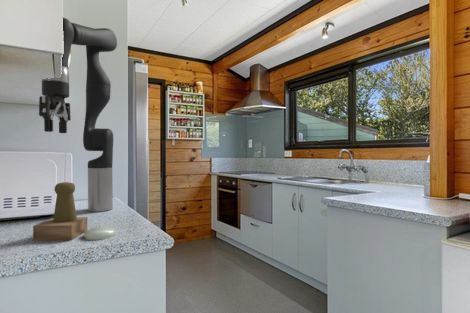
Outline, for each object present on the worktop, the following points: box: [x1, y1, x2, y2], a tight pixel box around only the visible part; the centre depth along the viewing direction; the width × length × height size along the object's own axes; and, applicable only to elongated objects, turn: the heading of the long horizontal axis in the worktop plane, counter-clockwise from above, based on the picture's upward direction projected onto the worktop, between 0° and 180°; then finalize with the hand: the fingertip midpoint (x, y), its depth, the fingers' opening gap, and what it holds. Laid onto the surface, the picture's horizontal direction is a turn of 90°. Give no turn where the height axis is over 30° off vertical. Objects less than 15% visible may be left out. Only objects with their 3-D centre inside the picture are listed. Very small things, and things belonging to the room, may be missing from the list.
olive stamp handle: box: [53, 181, 78, 222], centre depth 87 cm, size 6×6×11 cm
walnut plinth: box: [32, 216, 88, 242], centre depth 86 cm, size 10×10×4 cm
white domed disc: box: [83, 226, 116, 241], centre depth 86 cm, size 8×8×2 cm
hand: (56, 132), depth 96 cm, fingers open, 8 cm apart
